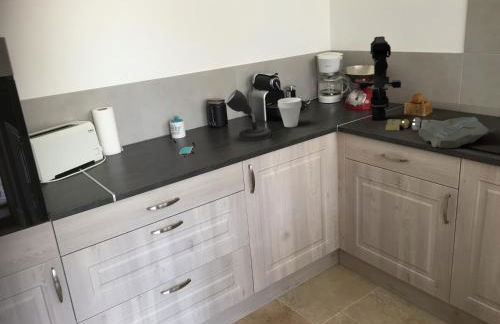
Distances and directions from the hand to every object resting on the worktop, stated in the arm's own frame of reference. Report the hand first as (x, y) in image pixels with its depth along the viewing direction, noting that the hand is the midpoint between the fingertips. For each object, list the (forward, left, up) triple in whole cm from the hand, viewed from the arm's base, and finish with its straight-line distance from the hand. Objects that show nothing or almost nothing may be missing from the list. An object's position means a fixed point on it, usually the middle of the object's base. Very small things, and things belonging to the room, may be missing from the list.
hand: (379, 102), depth 207 cm
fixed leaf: (+20, -1, -12) cm, 23 cm away
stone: (+32, -20, -13) cm, 40 cm away
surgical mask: (-81, -48, -13) cm, 95 cm away
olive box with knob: (+9, -1, -12) cm, 15 cm away
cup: (-45, -1, -12) cm, 47 cm away
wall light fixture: (-59, -24, -12) cm, 65 cm away
